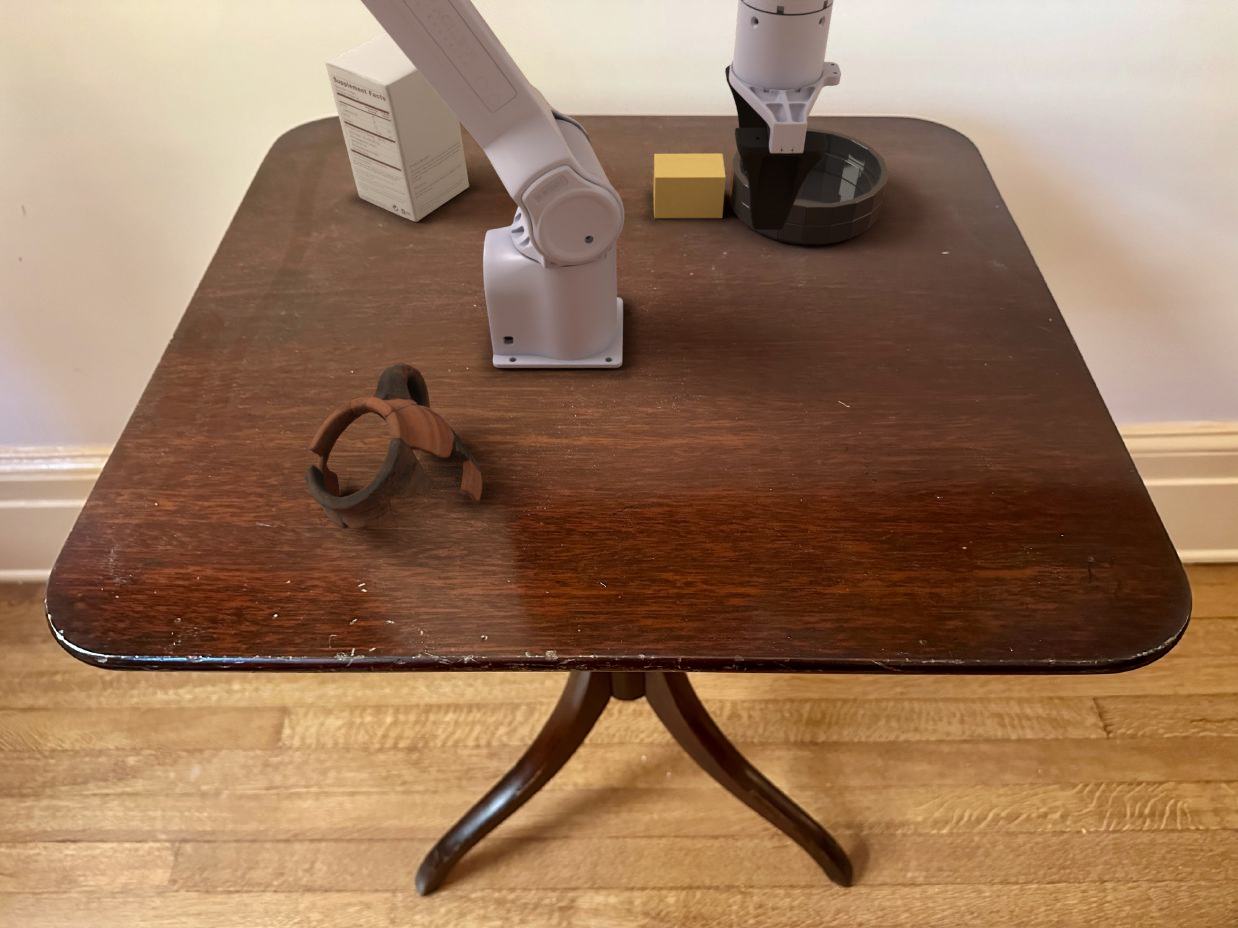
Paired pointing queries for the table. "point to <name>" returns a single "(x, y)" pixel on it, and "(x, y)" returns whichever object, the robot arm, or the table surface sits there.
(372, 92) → the white packaging box
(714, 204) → the yellow box
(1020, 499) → the table surface
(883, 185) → the pan
